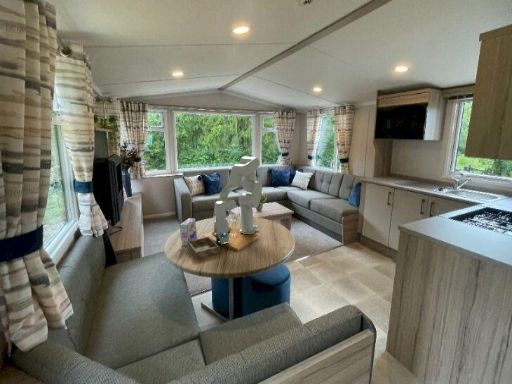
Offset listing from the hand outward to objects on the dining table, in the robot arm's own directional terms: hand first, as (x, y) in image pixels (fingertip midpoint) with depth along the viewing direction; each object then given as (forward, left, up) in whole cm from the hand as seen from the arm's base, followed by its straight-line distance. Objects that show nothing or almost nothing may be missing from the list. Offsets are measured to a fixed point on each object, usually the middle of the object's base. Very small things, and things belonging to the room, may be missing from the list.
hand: (222, 241), depth 186 cm
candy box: (+20, -14, -1) cm, 25 cm away
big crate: (+16, +5, -1) cm, 17 cm away
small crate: (0, 0, -1) cm, 1 cm away
